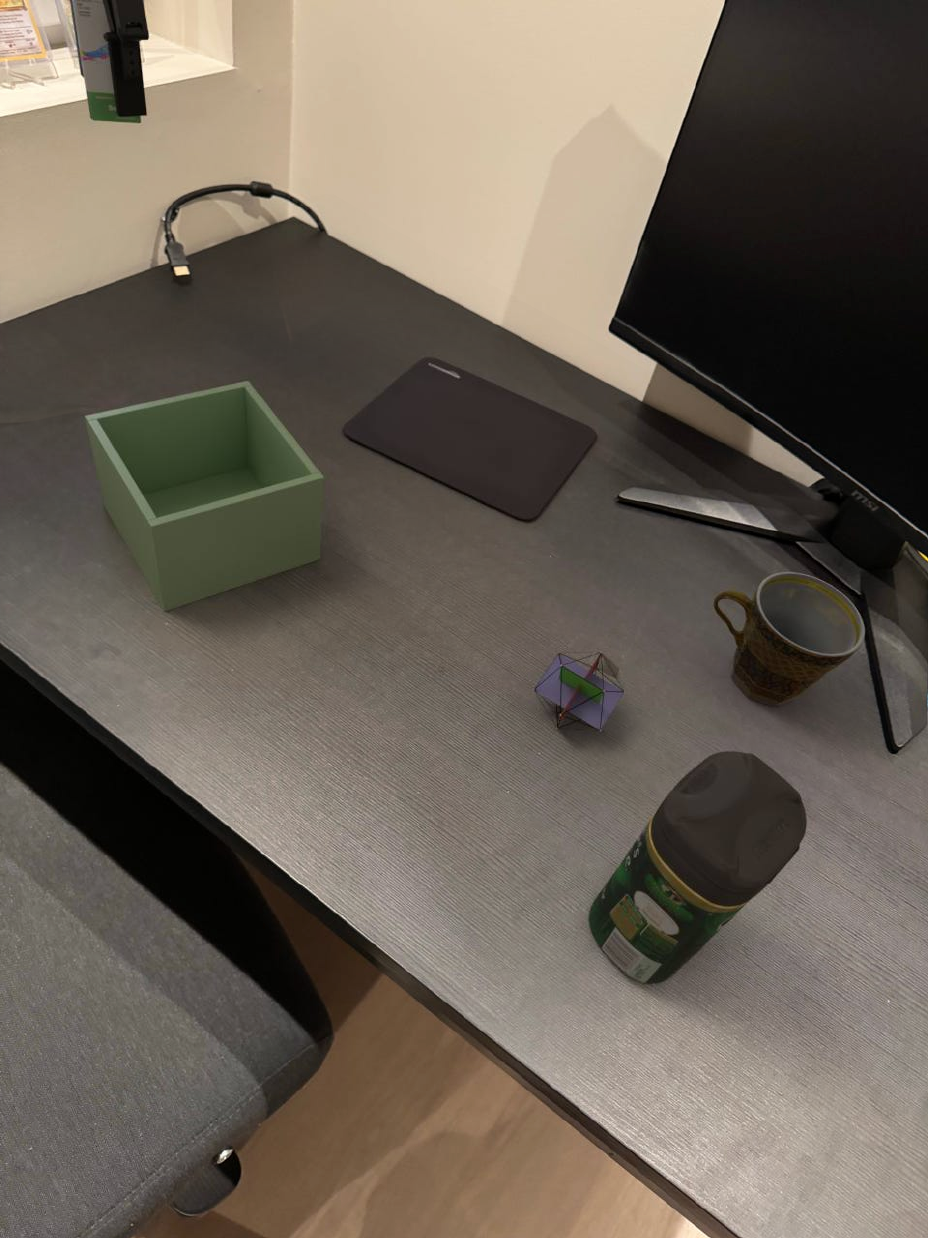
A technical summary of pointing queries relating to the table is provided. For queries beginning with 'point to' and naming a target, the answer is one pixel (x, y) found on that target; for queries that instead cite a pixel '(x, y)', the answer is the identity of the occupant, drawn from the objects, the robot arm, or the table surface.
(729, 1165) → the table surface
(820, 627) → the ceramic cup
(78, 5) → the ink box
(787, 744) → the table surface
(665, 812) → the coffee jar
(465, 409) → the mouse pad
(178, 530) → the open square box
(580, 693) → the geometric puzzle
